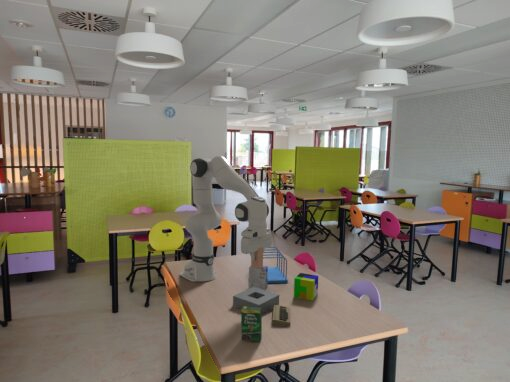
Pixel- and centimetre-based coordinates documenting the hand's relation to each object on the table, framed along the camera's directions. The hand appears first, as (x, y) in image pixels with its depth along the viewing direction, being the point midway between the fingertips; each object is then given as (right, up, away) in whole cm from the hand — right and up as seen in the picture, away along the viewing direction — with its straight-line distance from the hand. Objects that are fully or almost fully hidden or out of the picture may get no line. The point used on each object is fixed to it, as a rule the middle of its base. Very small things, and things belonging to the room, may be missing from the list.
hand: (257, 259), depth 172 cm
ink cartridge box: (+1, -21, +24) cm, 32 cm away
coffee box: (-2, -26, -30) cm, 40 cm away
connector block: (0, -4, 0) cm, 4 cm away
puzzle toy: (+26, -22, +16) cm, 38 cm away
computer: (+11, -25, -10) cm, 29 cm away
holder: (0, -23, +2) cm, 23 cm away
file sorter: (+7, -19, +45) cm, 49 cm away
